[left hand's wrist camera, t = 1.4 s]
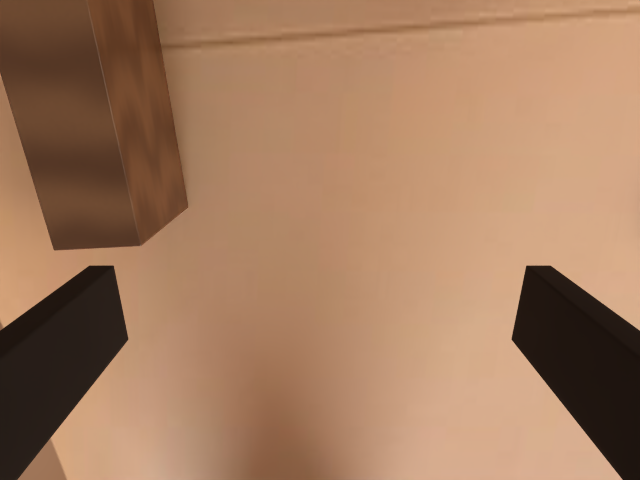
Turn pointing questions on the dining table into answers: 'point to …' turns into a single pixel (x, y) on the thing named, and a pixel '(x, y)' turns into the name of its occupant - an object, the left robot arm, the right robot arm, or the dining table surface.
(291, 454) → the dining table surface
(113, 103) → the bar
